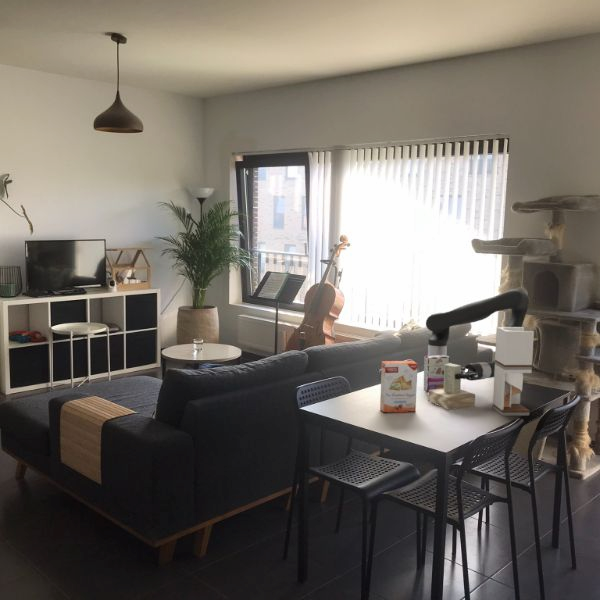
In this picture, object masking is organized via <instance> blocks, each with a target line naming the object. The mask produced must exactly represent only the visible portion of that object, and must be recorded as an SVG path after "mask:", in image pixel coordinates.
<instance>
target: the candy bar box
mask: <svg viewBox="0 0 600 600" xmlns="http://www.w3.org/2000/svg"><path fill="white" fill-rule="evenodd" d="M423 359H424V360H423V390H424V391H425V392H428V393H429V390H433V389H441V388H444V375H442V370H444V364H449V363H451V361H450V359H451V358H450V356H449V355H433V356H428V355H424V357H423Z"/></svg>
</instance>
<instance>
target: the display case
mask: <svg viewBox="0 0 600 600" xmlns="http://www.w3.org/2000/svg"><path fill="white" fill-rule="evenodd" d="M495 332H496V334H495V352H494V353H495V356H494V361H495V372H494V377H493V393H492V394H493V395H492V396H493V397H492V409H493V408H494V409H493V410H494V411H496V412H497V413H498V414H500V415H501V416H530V410H529V409H528V408H527V407H525V406H524V405H523V404H521V393H522V392H523V385H524V384H523V380H524V374H532V370H533V356H534V355H533V354H534V352H533V351H534V336H535V331H534V330H525V327H523V326H522V327H508V326H500V327H499V326H497V327H496V331H495Z"/></svg>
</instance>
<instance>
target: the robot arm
mask: <svg viewBox="0 0 600 600" xmlns="http://www.w3.org/2000/svg"><path fill="white" fill-rule="evenodd" d="M529 305H530V297H529V296H528V295H527V294H526V293H525V292H522V291H521V290H519V289H509V290H507V291H505V292H502V293H499V294H497V295H495V296H492V297H488V298H484V299H481V300H477V301H474V302H470V303H467V304H463V305H462V306H459V307H456V308H454V309H452V310H448V311H445V312H437V313H432V314H431V315H429V316H428V317H427V318H426V321H425V326H426V328H427V329H428V330H429V331H431V336H429V338H428V342H427V343H428V345H427V349H428V350H427V356H433V355H447V350H448V349H447V348H448V341H449V337H450V327H454V326H459V325H460V326H461V325H466V324H472V323H476V322H480V321H482V320H485V319H487V318H489V317H490V316H491V315H493V314H494V313H496V312H500V311H504V310H511V313H510V314H511V315H510V316H511V317H510V320H509V324H508V325H507V327H523V324H524V320H525V318H526V315H527V311H528V309H529ZM447 356H448V355H447ZM494 372H495V360H494V361H486V362H472V363H467V364H466V365H465V367H461V373H460V374H455V379H461V380H467V381H478V380H485V379H491V378H494ZM442 375H444V370H442Z"/></svg>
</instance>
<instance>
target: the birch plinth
mask: <svg viewBox="0 0 600 600" xmlns="http://www.w3.org/2000/svg"><path fill="white" fill-rule="evenodd" d="M429 401H431V402H430V403H432V402H433V403H432V404H434V403H435V405H437V404H438V405H437V406H439V405H440V406H439V407H442V408H444V407H445V409H446V408H447V409H446V410H454V408H456V409H461V407H462V408H467V407H474V406H476V394H475V393H473V392H470V391H467V390H464V389H461V388H460V393H456V394H452V393H449V392H445V391H444V388H441V389H433V390H429V392H428V402H429Z"/></svg>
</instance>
